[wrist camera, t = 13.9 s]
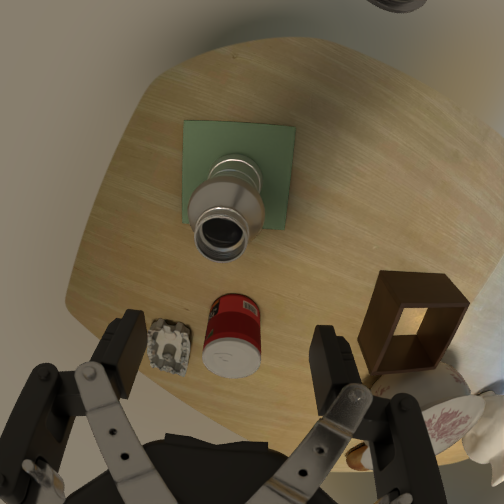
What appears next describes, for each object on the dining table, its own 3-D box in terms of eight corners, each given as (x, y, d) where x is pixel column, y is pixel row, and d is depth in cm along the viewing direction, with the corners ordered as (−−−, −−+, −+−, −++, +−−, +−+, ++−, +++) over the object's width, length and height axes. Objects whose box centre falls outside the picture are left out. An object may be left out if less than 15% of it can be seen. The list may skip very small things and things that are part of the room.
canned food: (208, 291, 48) (199, 339, 38) (260, 292, 48) (262, 341, 38) (212, 329, 51) (204, 378, 42) (259, 330, 51) (260, 379, 42)
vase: (511, 369, 62) (553, 440, 35) (488, 408, 72) (519, 473, 45) (466, 389, 64) (506, 472, 37) (446, 427, 73) (473, 499, 46)
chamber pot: (394, 324, 51) (437, 413, 33) (474, 346, 56) (514, 410, 37) (322, 412, 63) (334, 490, 45) (405, 419, 67) (426, 480, 49)
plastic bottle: (250, 207, 41) (248, 293, 23) (202, 188, 40) (162, 261, 22) (270, 162, 38) (286, 217, 20) (220, 143, 37) (189, 179, 19)
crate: (379, 270, 46) (401, 303, 38) (444, 273, 47) (470, 302, 39) (357, 339, 53) (370, 375, 45) (417, 337, 53) (435, 369, 45)
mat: (185, 120, 37) (183, 120, 36) (295, 126, 37) (296, 127, 36) (183, 221, 43) (182, 223, 42) (283, 228, 43) (284, 230, 43)
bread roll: (336, 453, 74) (340, 475, 67) (379, 431, 69) (385, 454, 62) (354, 458, 77) (358, 479, 70) (394, 437, 72) (400, 459, 65)
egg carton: (152, 314, 50) (145, 329, 47) (195, 324, 51) (191, 340, 47) (150, 356, 55) (145, 371, 51) (188, 365, 56) (185, 381, 52)
